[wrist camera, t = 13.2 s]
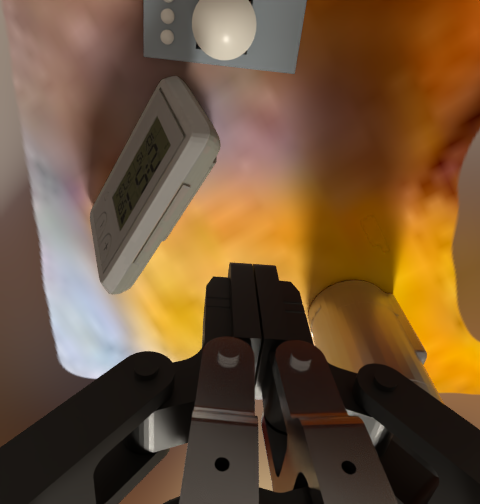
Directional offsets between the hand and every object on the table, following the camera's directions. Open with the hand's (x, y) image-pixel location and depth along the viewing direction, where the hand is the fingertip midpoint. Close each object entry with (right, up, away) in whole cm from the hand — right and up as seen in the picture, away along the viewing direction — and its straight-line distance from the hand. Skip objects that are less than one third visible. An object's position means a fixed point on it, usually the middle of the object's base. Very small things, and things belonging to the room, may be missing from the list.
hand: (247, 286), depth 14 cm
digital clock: (-8, +10, +26) cm, 29 cm away
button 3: (-1, +19, +19) cm, 27 cm away
